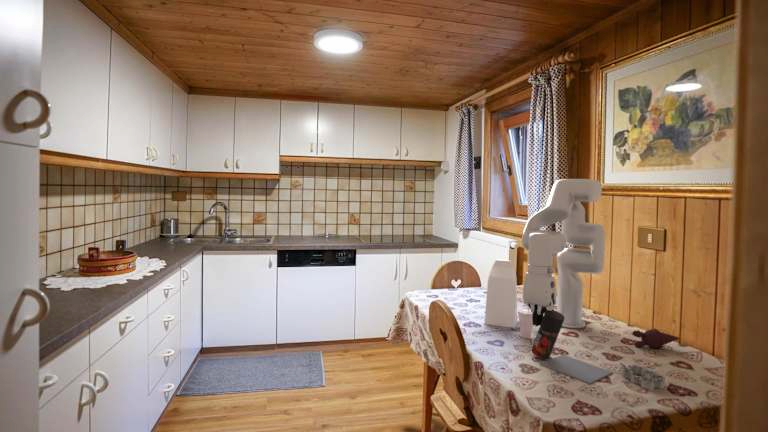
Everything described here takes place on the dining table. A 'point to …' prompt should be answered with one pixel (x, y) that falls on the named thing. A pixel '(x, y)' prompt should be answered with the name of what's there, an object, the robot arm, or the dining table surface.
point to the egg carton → (643, 376)
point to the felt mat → (576, 369)
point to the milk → (502, 295)
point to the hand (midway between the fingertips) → (537, 324)
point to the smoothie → (525, 322)
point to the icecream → (653, 338)
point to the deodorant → (547, 334)
